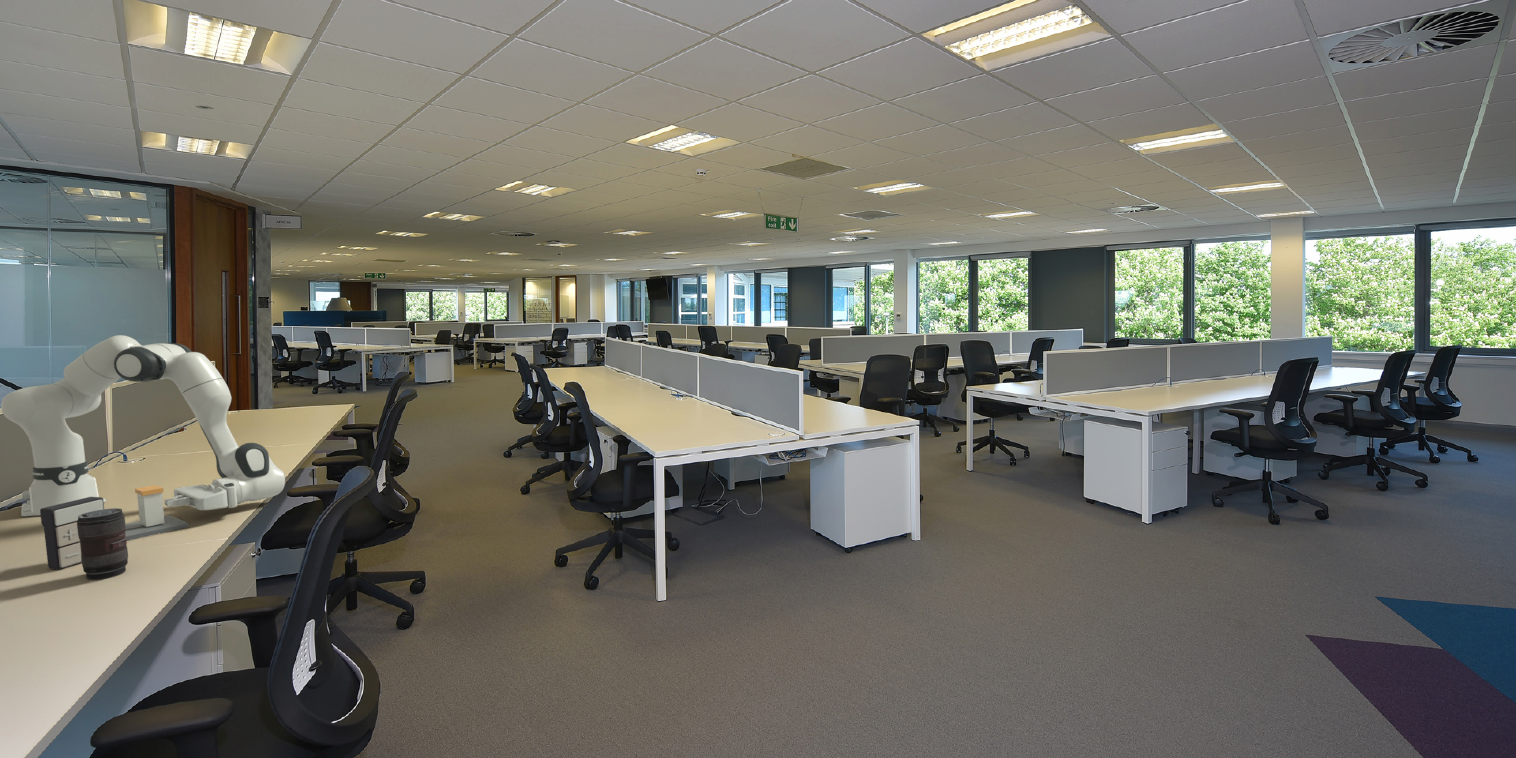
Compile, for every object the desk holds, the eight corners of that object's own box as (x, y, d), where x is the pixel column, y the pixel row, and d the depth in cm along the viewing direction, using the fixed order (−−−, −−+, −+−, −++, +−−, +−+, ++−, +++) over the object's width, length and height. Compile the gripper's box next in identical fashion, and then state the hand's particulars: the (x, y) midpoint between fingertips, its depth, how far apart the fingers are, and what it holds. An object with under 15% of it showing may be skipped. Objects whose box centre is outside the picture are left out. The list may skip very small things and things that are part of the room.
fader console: (57, 542, 183) (56, 537, 183) (169, 518, 203) (169, 514, 203) (73, 552, 175) (72, 547, 175) (188, 527, 195) (188, 522, 195)
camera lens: (126, 565, 167) (120, 505, 165) (132, 573, 162) (127, 511, 160) (80, 575, 161) (73, 513, 159) (85, 584, 156) (78, 520, 154)
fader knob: (138, 523, 194) (134, 488, 192) (158, 519, 197) (155, 485, 196) (145, 527, 191) (142, 491, 189) (166, 522, 194) (163, 487, 193)
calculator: (60, 570, 163) (53, 509, 162) (46, 569, 164) (39, 508, 163) (111, 554, 174) (105, 497, 172) (98, 553, 175) (92, 496, 173)
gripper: (208, 477, 213) (151, 487, 202) (237, 487, 202) (178, 498, 191) (210, 497, 214) (153, 508, 202) (238, 508, 203) (180, 520, 191)
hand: (166, 503), depth 196 cm, fingers closed
